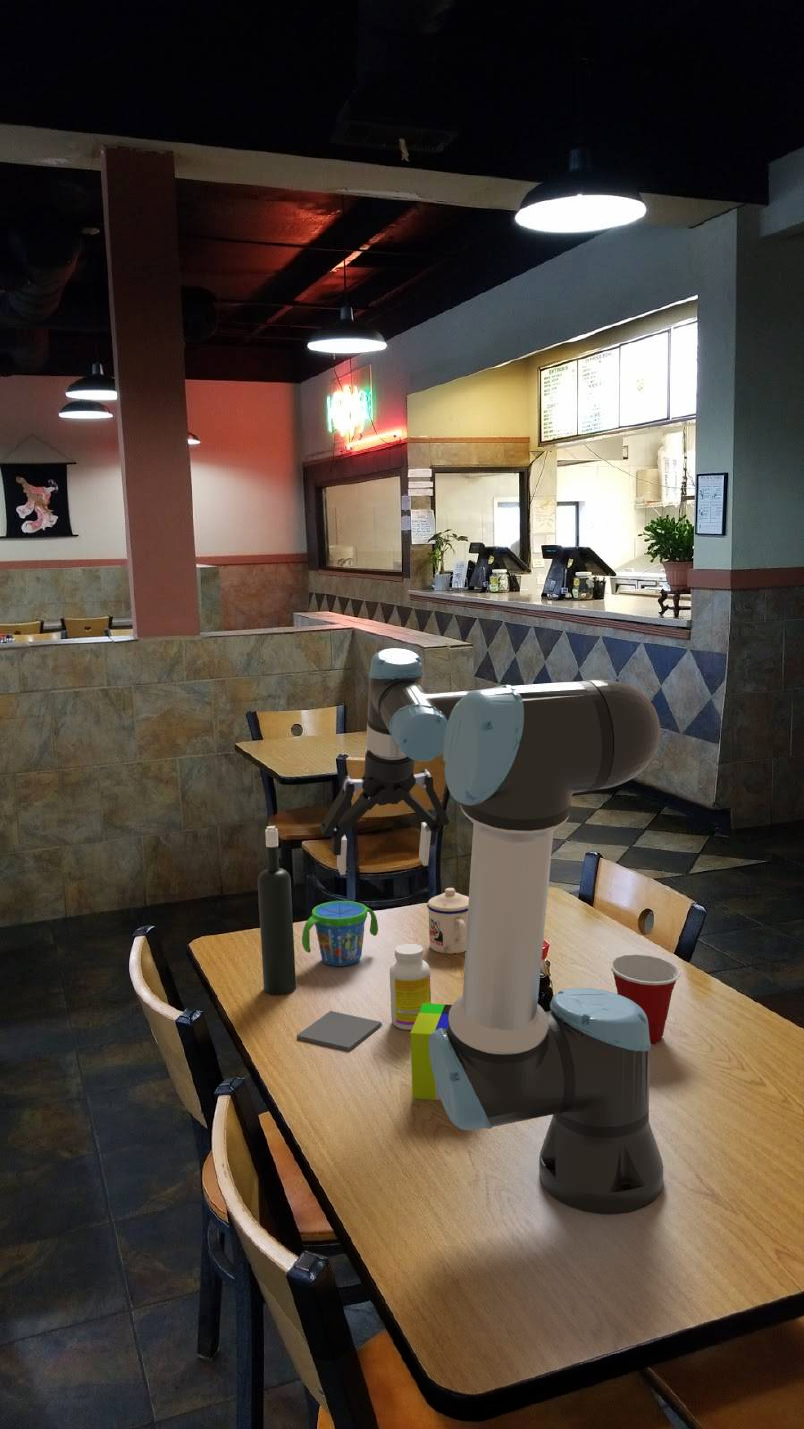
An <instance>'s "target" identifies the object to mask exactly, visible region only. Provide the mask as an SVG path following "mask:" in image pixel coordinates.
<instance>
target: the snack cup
mask: <svg viewBox="0 0 804 1429" xmlns="http://www.w3.org/2000/svg"><path fill="white" fill-rule="evenodd" d="M368 913H369V915H370V925H369V933H370V934H371V935H372V936H373V937H376V936H377V935H378V932H379V924H378V920H377V915H376V913H375V912H374V910H372V909H371V908H369V907H368V906H366V905H365V904H363V903H360V902H356V901H351V900H335V901H328V902H327V901H326V902H324V903H320V904H318V905H316V906H314V908H313V909H312V911H311V916H310V917H309V918H308V919H307V920H306V922H305V923H304V927H303V929H302V930H303V931H302V937H301V943H302V947H303V950H304V951H305V952H307V953H309V954H310V953H311V951H312V950H311V947H310V943H311V942H310V930H311V929H312V927H313V926H314V925H315V931H316V936H317V941H318V948H319V950H320V953H319V954H320V956H321V959H322V962H323V964H325V965H329V966H335V967H345V966H350V965H352V964H354V963H359V962H360V959H361V958H362V954H363V952H362V951H363V943H364V936H365V923H366V920H367V917H368Z"/></svg>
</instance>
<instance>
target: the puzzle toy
mask: <svg viewBox="0 0 804 1429" xmlns="http://www.w3.org/2000/svg"><path fill="white" fill-rule="evenodd" d="M452 1005H453V1004H445V1003H442V1004H441V1003H431V1004H429V1003H423V1005H422V1007H421V1009H420V1012H419V1014H418V1016H417V1019H416V1021H415V1023H414V1026H413V1028H412V1030H410V1035H409V1036H410V1061H411V1064H410V1065H411V1090H412V1099H419V1100H421V1099H422V1100H433V1101H441V1098H440V1095H439V1092H438V1089H437V1086H436V1082H435V1078H434V1074H433V1070H432V1065H431V1060H430V1052H429V1038H430V1035H431V1034H432V1033H433V1031H436V1030H438V1029H439V1028H443V1029H446V1028H448V1017H449V1011H450V1008H451V1006H452Z"/></svg>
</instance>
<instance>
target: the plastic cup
mask: <svg viewBox="0 0 804 1429" xmlns="http://www.w3.org/2000/svg"><path fill="white" fill-rule="evenodd" d="M609 964H610V970H611V971H612V973H613V978H614V985H615V987H616V994H618V995H621V996H624V997H626V998H628V999H630V1000H632V1001H633V1002H635V1003H636V1004H637V1005H639V1006H640V1007H641V1008H642V1010H643V1011H644V1012H645V1014H646V1016H647V1019H648V1027H649V1037H650V1043H651V1046H652V1045H656V1044H659V1043H660V1042H661V1041H662V1040H663V1036H664V1032H665V1028H666V1027H665V1026H666V1023H667V1018H668V1015H669V1014H668V1013H669V1009H670V1004H671V999H672V994H673V991H674V988H675V984H676V983H677V981H678V979H679V978H680V977H681V975H682V974H681V971H680V968H679V967H678V966H677V965H676V964H674V963H673V962H671V961H668V960H667V959H664V958H662V957H658V956H653V955H650V954H640V953H639V954H638V953H631V954H628V953H627V954H622V955H619V956H616V957H613V959H611V961H610V962H609Z"/></svg>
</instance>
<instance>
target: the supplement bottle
mask: <svg viewBox="0 0 804 1429" xmlns="http://www.w3.org/2000/svg"><path fill="white" fill-rule="evenodd" d="M423 957H424V948H423V946H422V945H420V944H416V943H415V944H414V943H405V944H404V943H403V944H400V945H397V946H396V947H395V948H394V958H395V961H394V962H393V963H391V965H390V967H389V981H390V982H389V983H390V984H389V985H390V986H389V987H390V988H389V989H390V1013H391V1014H390V1017H391V1023H392V1024H393V1025H394V1027H396V1028H398V1029H400V1030H404V1031H411V1030H412V1028H413V1026H414V1023H415V1021H416V1019H417V1016H418V1014H419V1012H420V1009H421V1007H422V1005H423V1003H429V1004H432V995H431V993H432V992H431V990H432V989H431V970H430V965H429V963H427V962H426V961H425V960H424V959H423Z"/></svg>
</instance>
